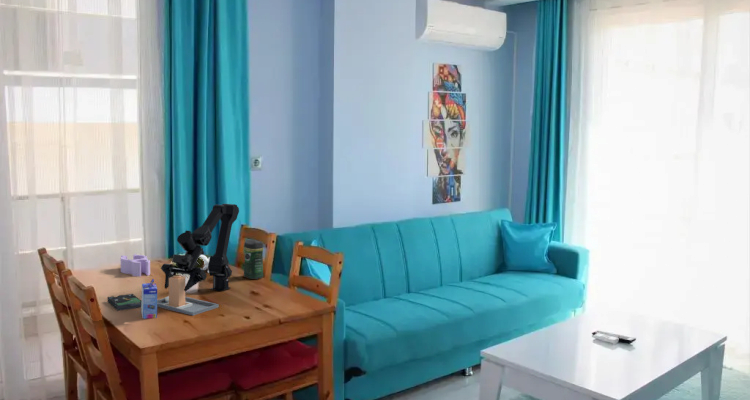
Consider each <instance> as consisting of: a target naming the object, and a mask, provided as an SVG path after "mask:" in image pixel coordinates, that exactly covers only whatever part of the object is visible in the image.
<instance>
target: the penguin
mask: <svg viewBox="0 0 750 400" xmlns="http://www.w3.org/2000/svg"><path fill="white" fill-rule="evenodd" d="M199 257H201V258H202V259H203V261H204V265H203V268H202V269H203V270H204V271H206V270H207V273H208V274H209V270H208V264H209V259H210V256H209V257H207V256H206V255H205V254H204V255H201V254H200V256H199Z"/></svg>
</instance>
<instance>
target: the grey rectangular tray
mask: <svg viewBox="0 0 750 400" xmlns="http://www.w3.org/2000/svg"><path fill="white" fill-rule="evenodd" d="M219 306H220V304H219V303H215V302H211V301H206V300H201V299H198V298H194V297H189V296H185V305H183V306H180V307H173V306H169V295H167V296H165V297H163V298H160V299H157V308H160V309H166V310H169V311H173V312H178V313H182V314H185V315H188V316H196V315H198V314H202V313H204V312H208V311H211V310H215V309H217V308H219Z"/></svg>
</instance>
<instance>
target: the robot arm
mask: <svg viewBox="0 0 750 400" xmlns="http://www.w3.org/2000/svg"><path fill="white" fill-rule="evenodd" d="M239 213H240V208H239V206H238V205H237V204H232V203H222V204H214V205H213V206H212V210H211V211H210V213H209V214H208V215H207V217H206V219H204V221H203V223H202V225H201V226H199V227H197V228H196V229H195V230H194V231H193V232H192V231H191V230H185V231H184V232H182V233H181V234H179V235H178V236H177V239H176V241H177V242H178V244H179V246H180V247H181V248H182V250H183V251H185V253H184V254H173V255H172V259H171V262H172V263H175V266H176V267H177V268H176V267H175V266H174V265H173V264H171V263H163V264H162V265H161V266H160V269H161V271H162V272H163V273H164V274H165V275H164V276H165V279H164V289H165V290H167V289H169V278H170V277H173V276H174V275H177V274H180V275H181V274H182V275H189V279H188V281H187V282H186V283H185V289H184V291H185V292H187V291H189V290H190V289H191V288H192V287H194V286H195V285H197V284H199V283H201V282H203V281H206V279H207V273H206V272H205V271H206V270H203V268H202V267H197V266H198V264H199V263H198V262H197V260H198V258H199V256H200V255H204V256H205V252H204V249H203V247H204V246H205V247H206V246H208V245H209V244H210V242H211V240H212V232H213V231H214V229H215V228H216V226H217V225H218V223H219V221H220V227H219V231H218V232H219V233H218V237H217V242H216V247H215V253H214V254H213V255H210V256H209V257H210V259H209V264H208V269H207V271H208V270H209V273H208V274H209V276H210V277H212V287H210V290H214V291H217V292H224V291H227V290H230V289H231V287H230V286H229V282H230V281H229V278H230V277H231V276H232V273H233V270H232V269H231V268H230V266H229V259H228V256H227V252H228V247H229V243H230V242H229V241H230V238H231V237H230V236H231V233H232V232H231V231H232V226H233V224H234V222H236V221H237V220H238V216H239ZM201 246H202V247H201Z"/></svg>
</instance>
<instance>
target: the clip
mask: <svg viewBox="0 0 750 400" xmlns="http://www.w3.org/2000/svg"><path fill="white" fill-rule="evenodd" d="M132 256H133V257H132V258H133V259H128V255H120V273H123V274H127V275H131V276H133V277H142V274H145V276H150V275H151V260H150V259H148V256H147V255H143V254H137V253H134V254H133V255H132Z"/></svg>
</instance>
